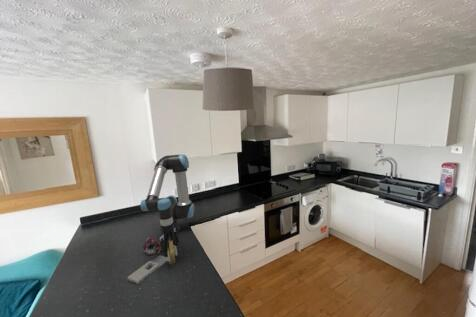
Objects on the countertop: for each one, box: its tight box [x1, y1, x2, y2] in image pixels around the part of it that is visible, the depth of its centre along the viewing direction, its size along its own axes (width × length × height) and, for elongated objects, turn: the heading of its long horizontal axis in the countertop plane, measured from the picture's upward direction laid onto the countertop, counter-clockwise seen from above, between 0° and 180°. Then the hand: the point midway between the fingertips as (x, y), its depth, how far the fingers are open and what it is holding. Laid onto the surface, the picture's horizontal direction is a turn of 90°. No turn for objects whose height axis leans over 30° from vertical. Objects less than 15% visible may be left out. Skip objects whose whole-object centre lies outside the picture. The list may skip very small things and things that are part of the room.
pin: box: [168, 238, 176, 265], centre depth 126 cm, size 4×4×15 cm
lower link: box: [145, 254, 168, 276], centre depth 126 cm, size 16×9×1 cm, turn 153°
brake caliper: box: [142, 237, 161, 256], centre depth 141 cm, size 11×11×12 cm
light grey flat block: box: [126, 260, 160, 285], centre depth 119 cm, size 16×9×2 cm, turn 153°
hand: (171, 257), depth 127 cm, fingers open, 6 cm apart
